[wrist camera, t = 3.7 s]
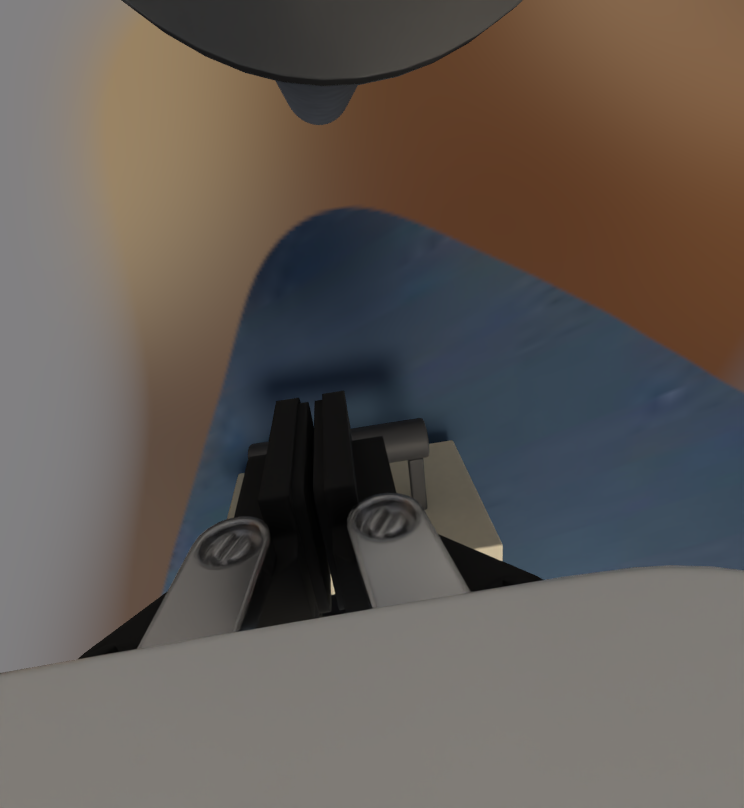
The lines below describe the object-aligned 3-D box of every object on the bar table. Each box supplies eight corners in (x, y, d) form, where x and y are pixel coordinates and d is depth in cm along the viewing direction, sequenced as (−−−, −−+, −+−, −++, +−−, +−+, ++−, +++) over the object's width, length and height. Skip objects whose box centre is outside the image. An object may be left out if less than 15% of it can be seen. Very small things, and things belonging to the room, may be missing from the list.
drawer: (215, 400, 23) (171, 504, 16) (449, 365, 23) (504, 451, 16) (290, 641, 31) (281, 778, 24) (461, 611, 32) (501, 739, 25)
